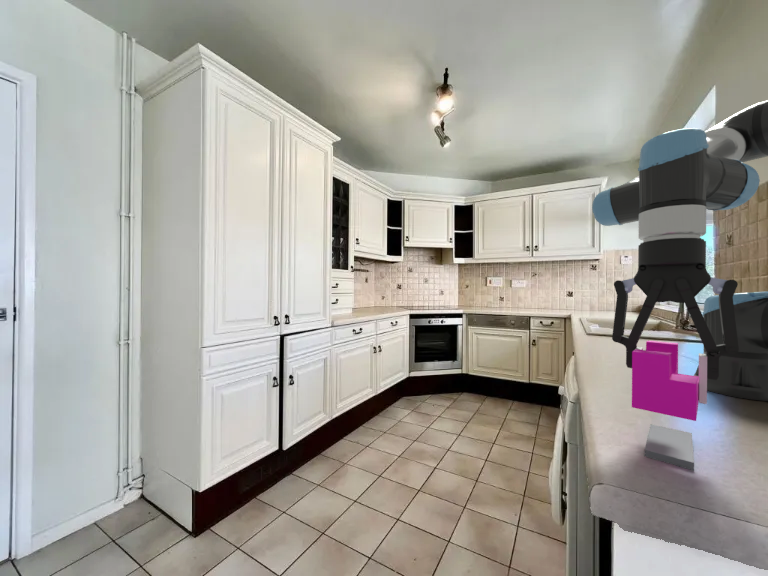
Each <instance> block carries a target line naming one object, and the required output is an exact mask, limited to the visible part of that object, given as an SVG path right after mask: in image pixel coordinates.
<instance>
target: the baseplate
mask: <svg viewBox="0 0 768 576" xmlns="http://www.w3.org/2000/svg"><path fill="white" fill-rule="evenodd" d="M693 445H694V444H693V434H692V432H688V431H684V430H681V429H680V430H679V429H674V428H670V427H666V426H663V425H662V426H661V425H657V424H653V423H651V424H650V425H649V429H648V433H647V438H646V441H645V447H644V457H645V456H646V458H650V459H652V458H653V459H654V460H656V461H661V462H664V463H667V464H671V465H672V466H673V465H675V466H677V467H681V468H684V469H688V470H691V471H695V458H694V446H693ZM653 459H652V460H653Z"/></svg>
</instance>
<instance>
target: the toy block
mask: <svg viewBox="0 0 768 576" xmlns="http://www.w3.org/2000/svg"><path fill="white" fill-rule="evenodd" d="M645 344H646V345H645V349H643V350H638V349H635V350H634V351H632V368H631V408H633V409H638V410H643V411H648V412H652V413H657V414H662V415H664V416H665V415H666V416H670V417H675V418H680V419H684V420H687V421H688V420H689V421H693V422H697V417H698V410H699V404H700V403H699V377H698V376H694V375H689V374H684V373H679V342H669V341H659V340H646V343H645Z"/></svg>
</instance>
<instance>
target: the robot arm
mask: <svg viewBox="0 0 768 576" xmlns="http://www.w3.org/2000/svg"><path fill="white" fill-rule="evenodd" d="M639 153H640V154H639V155H640V156H639V162H638V163H639V164H638V168H637V171H638V176H636V177H634V178H632V179H630V180H628V181H627V182H625V183H623V184H620V185H618V186H615V187H613V186H612V187H609V189H605V190H603V191H600V192H599V193H598V194H596V195H595V197H594V198H593V201H592V205H591V206H592V207H591V208H592V209H591V210H592V213H593V216H594V219H595V220H596V222H598V224H599V225H601V226H604V227H605V226H606V227H610V226H623V225H624V224H630V223H635V222H638V239H639V241H643V242H640V244H639V245H638V247H637V249H638V250H637V251H638V256H637V258H638V260H637V263H638V264H637V272H636V273H635V275H634V276H633V278H628V279H623V280H616V281H614V283H613V286H614V290H615V292H616V303H615V311H614V318H613V325H612V336H611V340H612V341H613V342H614V343H618V344H620V345H623V346H624V347H625V356H626V357H625V365H626V367H627V368H629V369H632V351H634V350H635V349H638V350H644V348H643V346H642V347H641V346H638V342H639V340H640V339H641V336H642V334H643V332H644V330H645V327H646V325H647V323H648V321H649V319H650V316H651V314H652V312H653V310H654V307H655V306H656V305H657V303H667V302H671V303H672V302H673V303H676V304H681V303H682V304H685V306H686V307H685V308H686V309H687V311H688V314H689V316H690V319H691V321H692V322H693V325H694V327H695V329H696V331H697V334H698V335H699V338H700V340H701V343H702V345H703V353H701V352H700V353H698V366H697V368H696V370H695V373H694V374H693V376H698V377H699V403H698V404H704V405H708V392H712V393H716V394H719V395H723V396H728V397H733V398H740V399H745V400H746V399H747V400H752V401H753V400H754V401H762V402H768V291H754V292H738V293H737V292H736V290H737V288H738V282H737V280H736V279H724V278H718V277H711V275H710V273H709V272H708V271H707V264H706V263H707V241H706V240H705V239H704V238H702V237H703V236H705V235H706V234H707V210H709V211H713V212H714V211H716V212H717V211H727V210H732V209H735V208H737V207H740V206H743V205H744V204H745V203H747V202H748V201H750V199H751V198H752V197H754V195H755V194H756V193H757V192H758V188H759V185H760V181H761V180H760V175H759V173H758V171H757V170H756V169H755V167H752V166H751V165H749V164H747V163H746V162H750V161H755V160H759V159H762V158H766V157H768V99H767V100H764V101H760V102H757V103H755V104H752V105H751V106H748V107H746V108H744V109H742V110H740V111H738V112H736V113H734V114H733V115H731V116H729V117H728V118H726V119H724V120H723V121H721V122H719V123H717V124H716V125H714V126H712V127H711V128H709V129H708V130H705V131H704V130H703V129H701V128H697V127H696V128H695V127H693V128H691V127H688V128H680V129H675V130H671V131H667V132H664V133H661V134H659V135H656V136H654V137H651V138H650V139H649V140H647V141H646V142H645V143H644V144H642V146H641V148H640V152H639ZM636 285H637V287H638V288H639V289H640V290H641V292H643V293H644V295H645V296H646V297H645V299H644V301H643V304H642V306H641V309H640V311H639V313H638V316H637V317H636V320H635V322H634V324H633V325H632V326H633V327H632V329H631V332H630V333H629V336H627V335H624V333H625V327H626V319H627V318H626V317H627V312H628V301H629V293H632V291H633V288H634V286H636ZM708 285H709V286H711V287H712V292H713V293H714V294H716V295H711V296H708V297H707V298H706V299H705V300H704V303H703V311H701V309H700V306H699V304H698V302H697V300H696V298H695V297H696V296H697V295H699V294H700V293H701V291H703V289H704V288H706V287H707V286H708Z"/></svg>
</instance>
